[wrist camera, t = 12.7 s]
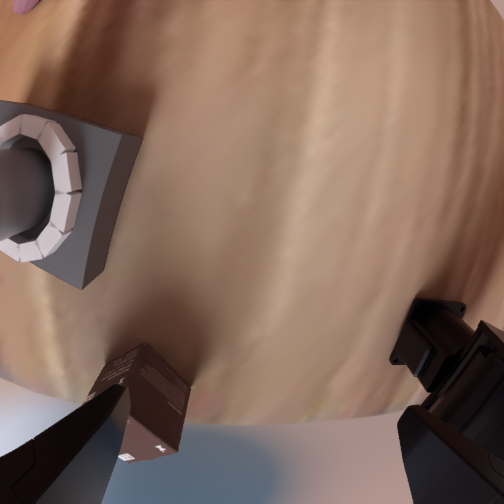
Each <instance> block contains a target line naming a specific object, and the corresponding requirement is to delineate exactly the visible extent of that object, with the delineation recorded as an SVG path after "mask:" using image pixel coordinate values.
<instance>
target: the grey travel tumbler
mask: <svg viewBox="0 0 504 504" xmlns="http://www.w3.org/2000/svg"><path fill="white" fill-rule="evenodd" d="M54 197H55V186H54V180H53V173H52V165H51V163H50V161H49V159H48V158H47V157H46V155H45V154H44V153H42V152H41V151H40V150H38V149H35V148H15V149H0V241H2V240H4V239H6V238H9V237H11V236H13V235H16V234H18V233H20V232H23V231H25V230H28V229H30V228H32V227H35V226H37V225H39V224H41V223H42V222H43V221H44V220H45V219H46V218H47V217H48V215H49V213H50V212H51V209H52V207H53V202H54Z"/></svg>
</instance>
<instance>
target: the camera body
mask: <svg viewBox="0 0 504 504" xmlns="http://www.w3.org/2000/svg"><path fill="white" fill-rule="evenodd" d="M142 140H143V138H140V137H137V136H134V135H131V134H128V133H125V132H122V131H119V130H116V129H113V128H110V127H107V126H103V125H100V124H97V123H94V122H90V121H87V120H84V119H80V118H77V117H74V116H70V115H67V114H63V113H60V112H56V111H52V110H49V109H45V108H41V107H37V106H33V105H29V104H25V103H18V102H11V101H3V100H0V149H15V148H35V149H38V150H40V151H41V152H42V153H44V154H45V155H46V157H47V158H48V159H49V161H50V163H51V165H52V173H53V180H54V186H55V197H54V202H53V207H52V209H51V212H50V213H49V215H48V217H47V218H46V219H45V220H44V221H43V222H42V223H41V224H39V225H37V226H35V227H32V228H30V229H28V230H25V231H23V232H20V233H18V234H16V235H13V236H11V237H9V238H6V239H4V240H2V241H0V250H1V251H2V252H4V253H5V254H7V255H9V256H10V257H12V258H13V259H15V260H17V261H18V262H19V261H21V262H27V261H29V262H31V263H32V264H34V265H36V266H38V267H39V268H41V269H43V270H45V271H46V272H48V273H50V274H52V275H54V276H55V277H57V278H59V279H61V280H63V281H65V282H67V283H69V284H70V285H72V286H74V287H76V288H78V289H80V290H82V289H84V288H85V287H86V286H87V285H88V284H89V283H90V282H91V281H93V280H94V279H95V278H96V277H97V276H98V275H99V274H101V273H102V272H103V270H104V266H105V261H106V257H107V253H108V249H109V245H110V241H111V237H112V233H113V229H114V225H115V222H116V218H117V215H118V211H119V208H120V205H121V201H122V198H123V195H124V192H125V188H126V185H127V182H128V179H129V176H130V173H131V170H132V167H133V165H134V162H135V159H136V156H137V153H138V151H139V148H140V145H141V143H142Z"/></svg>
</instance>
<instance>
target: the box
mask: <svg viewBox="0 0 504 504" xmlns="http://www.w3.org/2000/svg"><path fill="white" fill-rule="evenodd" d="M114 383H118V384H122V385H126V386H127V387H128V389H129V396H130V403H131V408H130V413H129V417H128V421H127V425H126V429H125V433H124V437H123V441H122V445H121V449H120V453H119V456H118V457H119V458H121V459H122V460H124V461H126V462H128V463H133V462H138V461H142V460H153V459H156V458H158V457H161V456H165V455H169V454H173V453H177V452H178V448H179V444H180V440H181V433H182V429H183V424H184V419H185V415H186V410H187V405H188V401H189V396H190V391H191V388H190V387H189V386H188V385H187V384H186V383H185V382H184V381H183V380H182V379H181V378H180V377H179V376H178V375H177V374H176V373H175V372H174V371H172V370H171V369H170V368H169V367H168V366H167V365H166V364H165V363H164V362H163V361H162V360H161V359H160V357H159V356H158V355H157V354H156V353H155V352H154V351H153V350H152V349H151V348H150V347H149V346H148V345H147V344H142V345H140V346H138V347H136V348H134V349H133V350H131V351H129V352H127V353H125V354H123V355H122V356H120V357H118V358H117V359H115V360H114V361H112V362H110V363H109V364H107V365H105V366H104V367H103V369H102V371H101V373H100V374H99V376H98V378H97V380H96V381H95V383H94V385H93V387H92V389H91V390H90V392H89V394H88V396H87V398H86V399H85V402H84V403H83V404H85V403H86V402H88V401H89V400H90V399H92V398H93V397H95V396H96V395H98V394H99V393H101V392H102V391H103V390H105V389H106V388H108V387H109V386H111V385H112V384H114Z"/></svg>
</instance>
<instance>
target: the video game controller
mask: <svg viewBox="0 0 504 504" xmlns="http://www.w3.org/2000/svg"><path fill="white" fill-rule="evenodd" d="M38 2H39V0H15V1H14V3H13V11H14V12H15V13H17V14H24V13H26V12H28V11H30V10H31V9H32V8H33V7H34V6H35V5H36V4H37V3H38Z"/></svg>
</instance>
